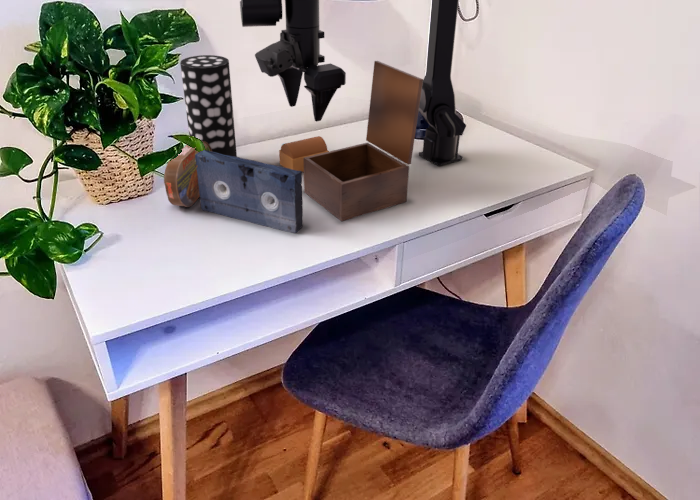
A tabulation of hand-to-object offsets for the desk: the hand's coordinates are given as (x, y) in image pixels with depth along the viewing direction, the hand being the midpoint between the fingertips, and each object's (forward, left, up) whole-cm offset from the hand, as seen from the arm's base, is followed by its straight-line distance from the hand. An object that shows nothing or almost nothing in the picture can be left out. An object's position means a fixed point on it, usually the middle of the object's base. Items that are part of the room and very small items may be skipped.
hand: (304, 113), depth 114 cm
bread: (0, -1, -11) cm, 11 cm away
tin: (+23, 0, -11) cm, 25 cm away
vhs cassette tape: (+18, +13, -11) cm, 24 cm away
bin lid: (-8, +15, +3) cm, 18 cm away
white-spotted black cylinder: (+15, -9, -11) cm, 20 cm away
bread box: (-1, +15, -11) cm, 19 cm away
